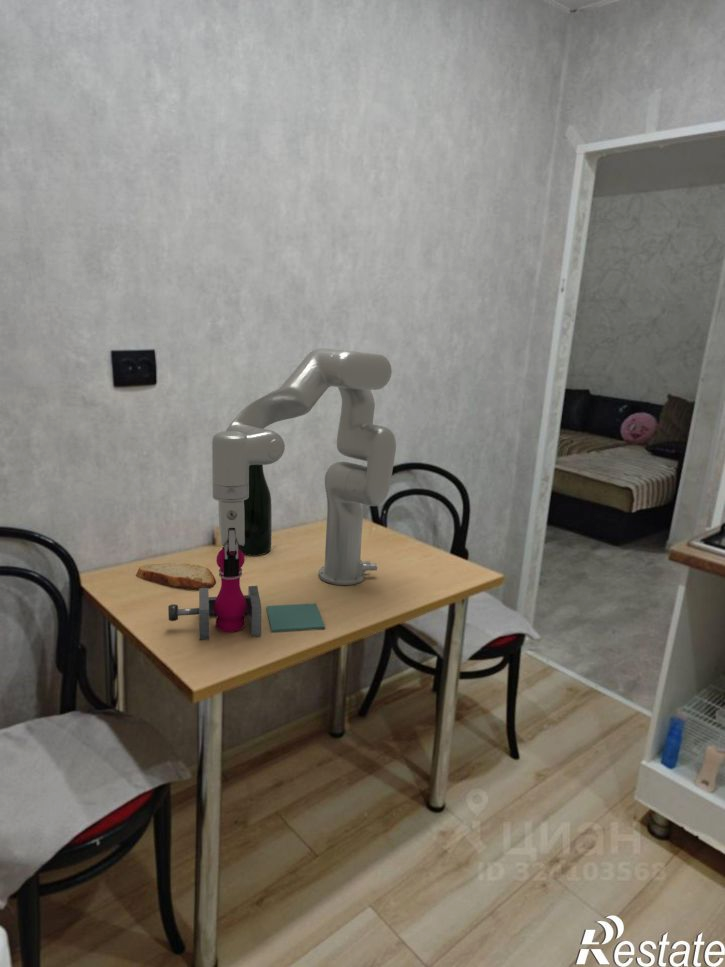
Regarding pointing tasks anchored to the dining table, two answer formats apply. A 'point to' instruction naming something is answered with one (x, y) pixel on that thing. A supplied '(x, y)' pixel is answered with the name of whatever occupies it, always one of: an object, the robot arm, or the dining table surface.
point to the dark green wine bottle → (257, 514)
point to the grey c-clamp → (208, 610)
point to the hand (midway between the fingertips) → (230, 569)
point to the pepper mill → (230, 598)
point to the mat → (294, 617)
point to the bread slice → (178, 575)
